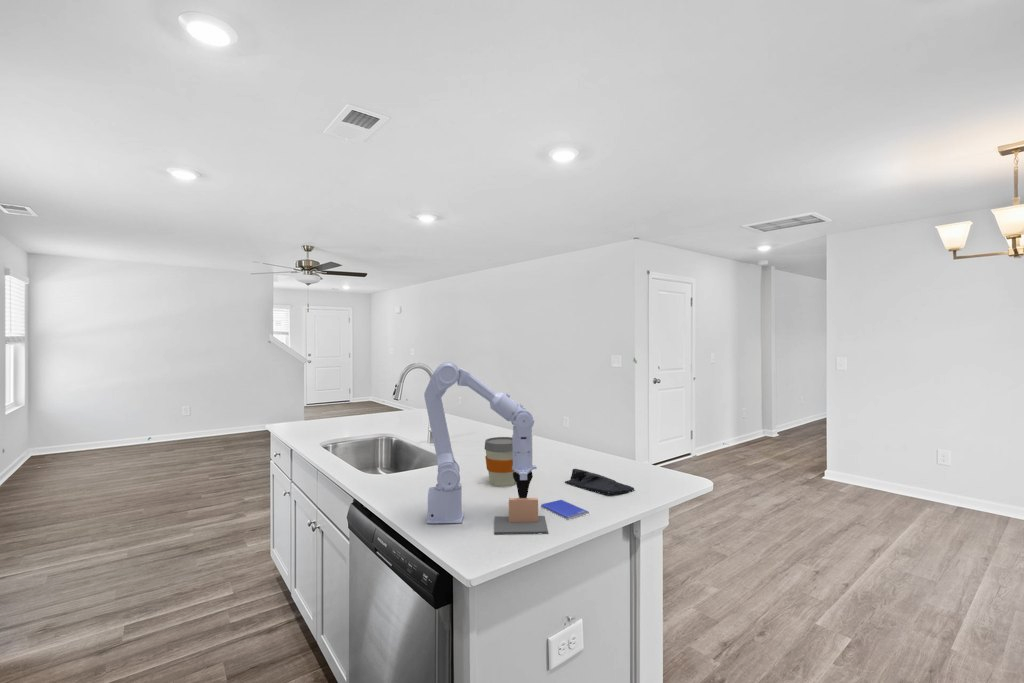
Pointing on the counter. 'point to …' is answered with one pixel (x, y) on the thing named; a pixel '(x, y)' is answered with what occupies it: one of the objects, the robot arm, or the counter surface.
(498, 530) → the mat
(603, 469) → the counter surface
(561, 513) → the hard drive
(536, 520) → the tile
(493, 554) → the counter surface
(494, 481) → the reusable coffee cup
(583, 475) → the dark slate chunk
